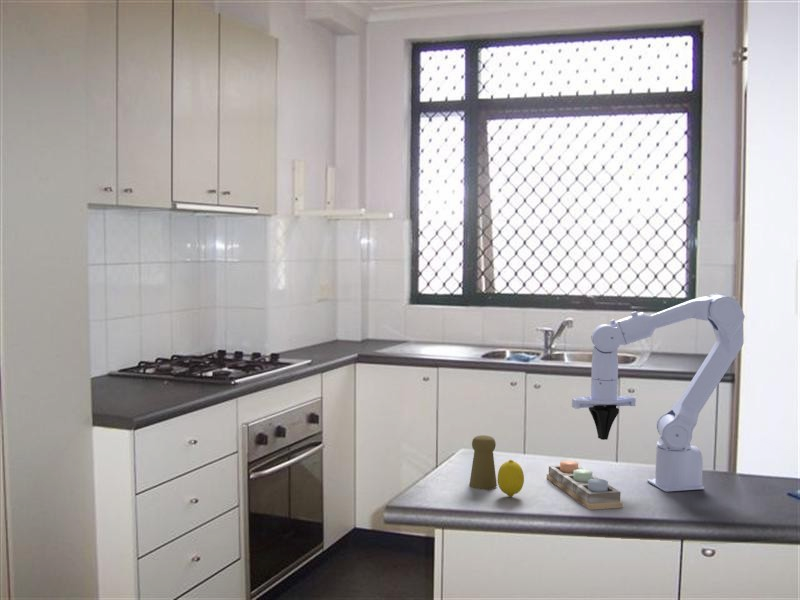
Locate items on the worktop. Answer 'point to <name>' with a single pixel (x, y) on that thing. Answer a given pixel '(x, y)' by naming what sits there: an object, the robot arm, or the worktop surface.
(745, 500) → the worktop surface
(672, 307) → the robot arm
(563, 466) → the button terracotta
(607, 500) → the panel
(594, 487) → the button slate
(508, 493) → the lemon
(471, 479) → the pepper mill
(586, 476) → the button sage
